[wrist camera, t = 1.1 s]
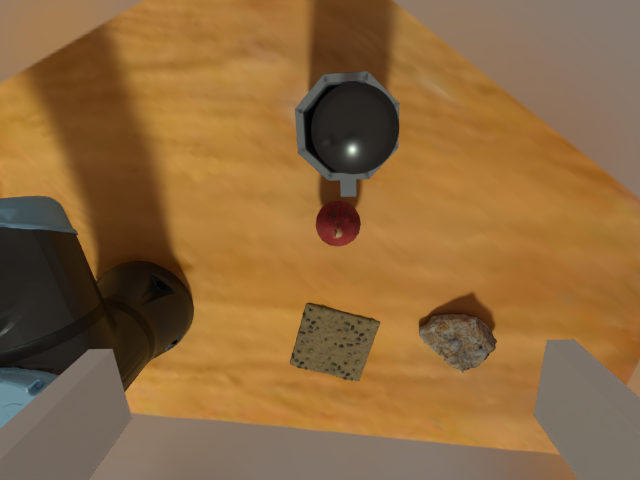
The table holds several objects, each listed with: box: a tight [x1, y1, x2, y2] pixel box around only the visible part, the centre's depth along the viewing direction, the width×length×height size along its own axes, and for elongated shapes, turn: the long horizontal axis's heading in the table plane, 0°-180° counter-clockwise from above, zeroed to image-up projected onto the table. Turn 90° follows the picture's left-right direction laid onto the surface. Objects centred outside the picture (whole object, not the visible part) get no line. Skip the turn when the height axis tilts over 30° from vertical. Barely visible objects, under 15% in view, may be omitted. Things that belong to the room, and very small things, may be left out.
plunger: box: [311, 82, 399, 174], centre depth 25 cm, size 7×7×19 cm
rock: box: [419, 314, 497, 373], centre depth 51 cm, size 9×6×10 cm
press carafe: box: [295, 71, 399, 197], centre depth 38 cm, size 9×11×14 cm
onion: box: [316, 201, 361, 246], centre depth 44 cm, size 6×6×8 cm
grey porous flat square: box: [290, 303, 380, 381], centre depth 55 cm, size 12×12×1 cm
